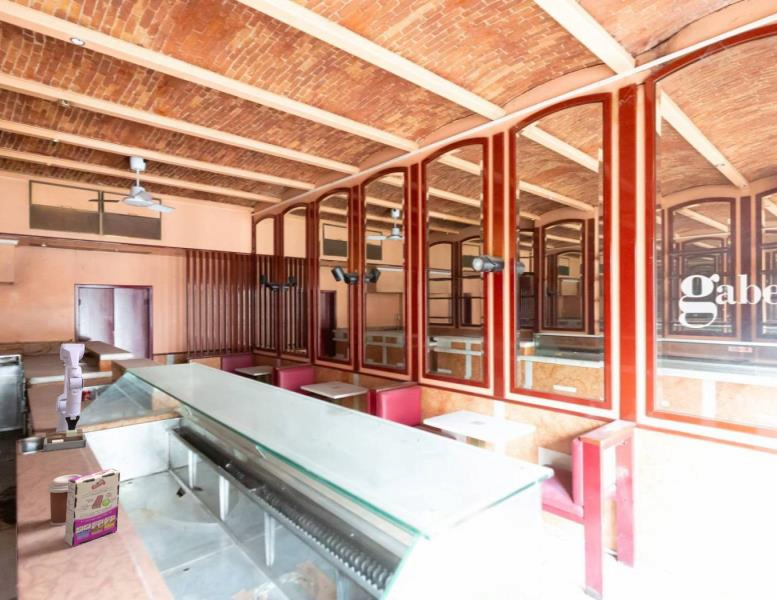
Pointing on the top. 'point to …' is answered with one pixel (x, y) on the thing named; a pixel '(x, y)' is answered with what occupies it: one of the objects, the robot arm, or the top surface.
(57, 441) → the cream tile
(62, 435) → the plate
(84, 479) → the candy bar box
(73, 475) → the coffee cup
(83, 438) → the tray
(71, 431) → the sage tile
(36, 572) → the top surface
